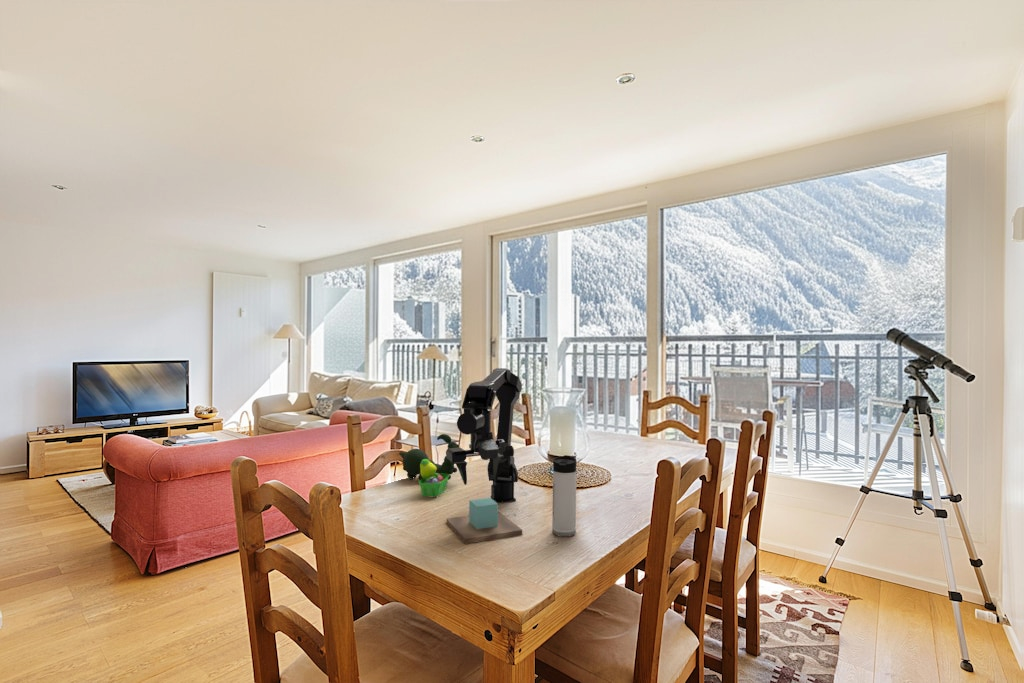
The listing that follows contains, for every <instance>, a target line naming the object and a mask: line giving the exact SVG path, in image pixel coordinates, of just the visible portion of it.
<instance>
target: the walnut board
mask: <svg viewBox="0 0 1024 683" xmlns="http://www.w3.org/2000/svg"><path fill="white" fill-rule="evenodd" d="M445 522H446V525H448V527H450V529H451V528H452V529H453V530H454V531H453V530H452V531H453V532H454V533H455V534H456V536H459V537H460V538H459V537H458V538H459V539H460V540H461V542H463V543H464V544H465V545H466V543H467V544H472V542H473V543H477V541H479V542H485V541H491V540H496V539H497V538H498V539H503V538H508V537H515V535H516V536H519V535H520V536H521V534H522V535H523V529H522V528H520V526H518V525H517V524H516V523H514V522H513V521H512V520H511V519H509V518H508V517H507V516H506V515H504V514H503V513H502V512H501V511H499V510H498V526H496V527H489V528H483V529H476V528H475V527H474V526H473V525H472V524H471V523H470V522H469V514H468V515H463V516H462V515H461V516H455V517H448V518H447V517H446V519H445ZM484 540H485V541H484Z"/></svg>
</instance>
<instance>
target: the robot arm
mask: <svg viewBox="0 0 1024 683" xmlns="http://www.w3.org/2000/svg"><path fill="white" fill-rule="evenodd" d="M522 385H523V384H522V380H521V379H520V378H519V376H518V375H516V374H514V373H513V372H511V370H510V369H508V368H506V367H505V368H501V367H496V368H493V370H492V372H491V373H490V374H489V375H487V376H486V377H485V378H484V379H483V380H481V381H474V382H471V383H470V384H469V385H468V387H467V388H466V389H465V390H466V391H465V394H464V398H463V401H462V406H461V409H463V413H462V414H460V415H459V416H458V418H457V421H456V427H457V429H458V431H459V432H460V433H462V434H464V435H470V443H469V445H468V447H469V449H463V448H461V447H460V446H459V447H458V448H449V449H448V448H447V449H448V450H447V449H446V450H447V452H446V451H445V456H446V458H447V459H448V460H450V461H451V462H453V463H455V464H454V465H456V468H457V470H458V472H459V474H460V477H461V479H462V482H463V485H465V486H466V485H467V484H468V476H467V464H468V462H467V461H466V459H467V458H471V457H479V456H480V459H481V460H483V461H488V460H489V462H488V464H487V475H488V481H489V482H492V484H491V485H490V486H491V487H490V498H491V499H492V500H494V501H495V502H496V503H497V504H500V503H501V504H503V503H510V502H515V501H517V498H516V497H515V483H518V482H519V472H518V468H517V467H516V464H515V448H514V446H513V445H511V444H512V433H513V420H514V408H515V405H516V403H517V402H518V400H519V399H520V394H521V392H522V390H523V389H522V388H523V386H522ZM495 399H497V401H498V402H499V408H498V418H497V419H498V422H497V431H496V439H494V434H493V432H492V431H491V430H492V428H491V427H492V426H491V425H492V424H491V423H492V416H491V415H492V414H491V412H492V411H491V410H492V409H493V405H494V402H495Z"/></svg>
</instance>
